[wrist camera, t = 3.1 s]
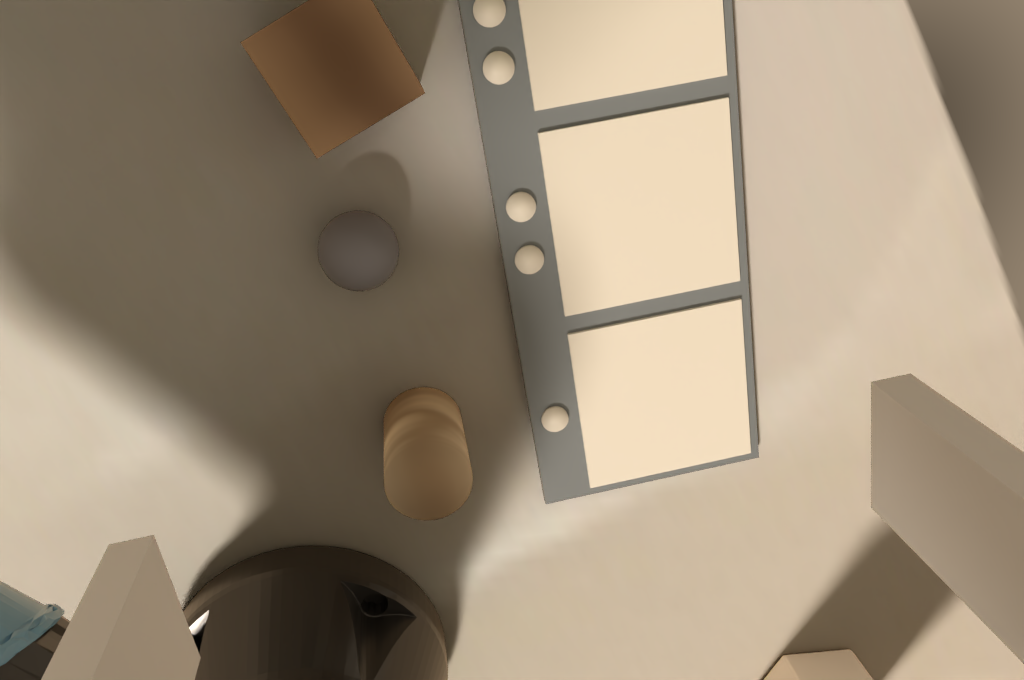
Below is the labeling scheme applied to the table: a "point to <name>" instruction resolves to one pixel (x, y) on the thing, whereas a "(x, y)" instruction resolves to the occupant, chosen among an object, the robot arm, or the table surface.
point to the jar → (819, 667)
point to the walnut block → (333, 69)
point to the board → (620, 231)
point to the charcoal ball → (358, 250)
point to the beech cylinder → (425, 455)
